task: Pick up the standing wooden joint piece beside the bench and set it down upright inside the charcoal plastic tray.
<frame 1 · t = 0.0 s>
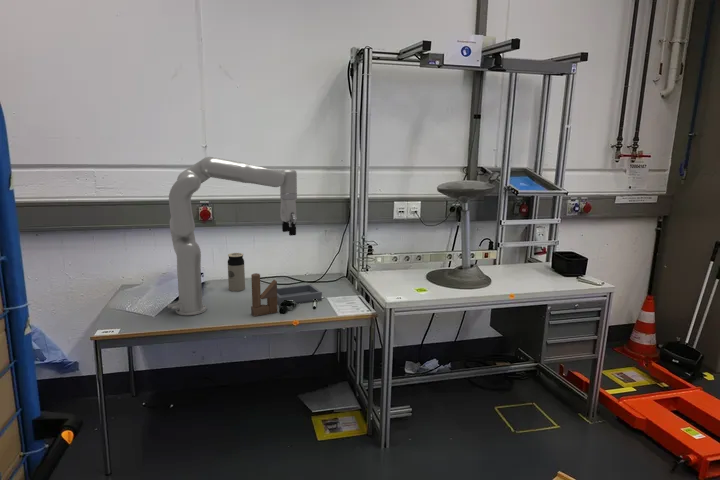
hand: (289, 233, 224), 31 cm above the table, tool pointing down, fingers open, 9 cm apart
tray: (296, 298, 228), on the table
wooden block: (264, 313, 209), on the table
travel mug: (236, 289, 241), on the table
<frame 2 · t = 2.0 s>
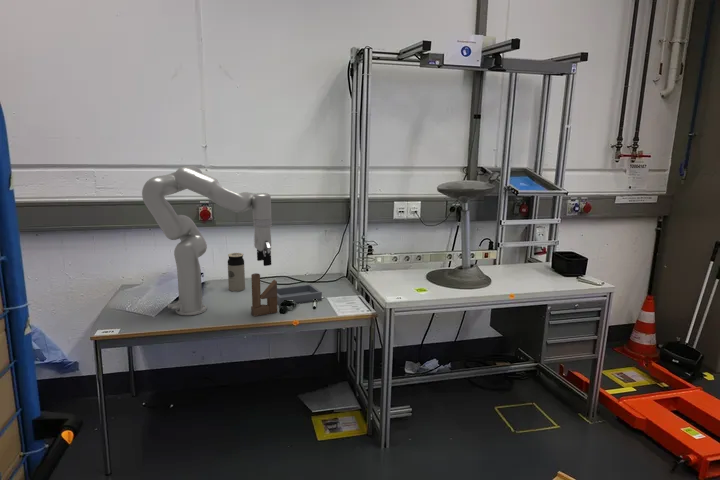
hand: (264, 262, 204), 23 cm above the table, tool pointing down, fingers open, 9 cm apart
nothing on the table moved.
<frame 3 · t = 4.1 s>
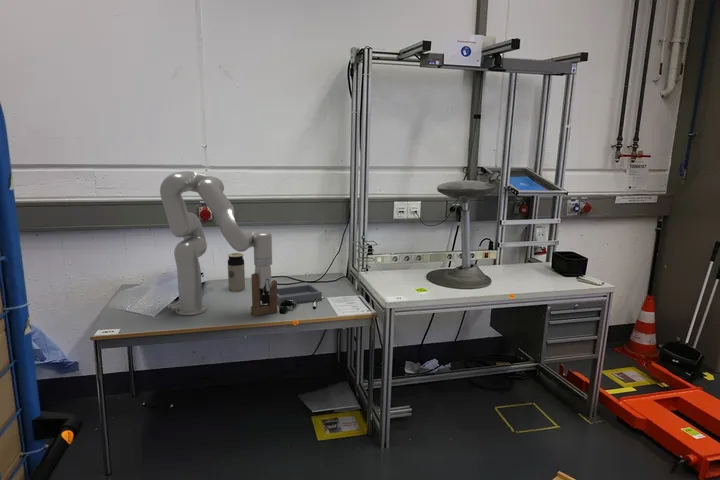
hand: (264, 301, 207), 5 cm above the table, tool pointing down, fingers closed on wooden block, 3 cm apart
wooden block: (264, 313, 209), on the table, touching gripper
everything else where it was.
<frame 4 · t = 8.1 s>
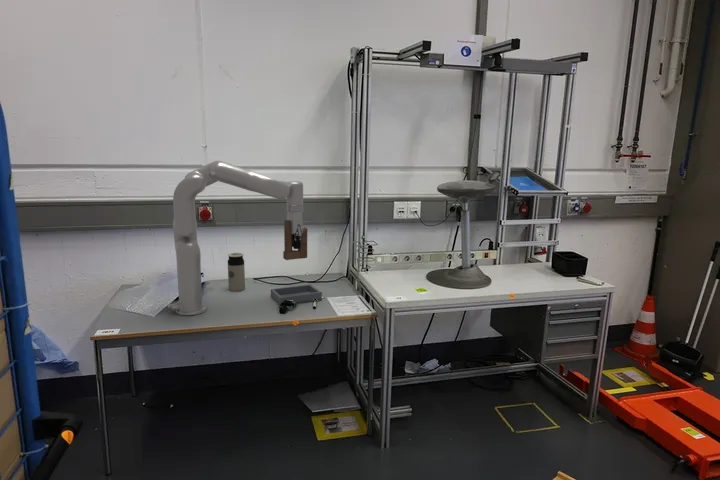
hand: (295, 247, 223), 25 cm above the table, tool pointing down, fingers closed on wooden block, 3 cm apart
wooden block: (295, 258, 224), point 20 cm above the table, touching gripper
everything else where it was.
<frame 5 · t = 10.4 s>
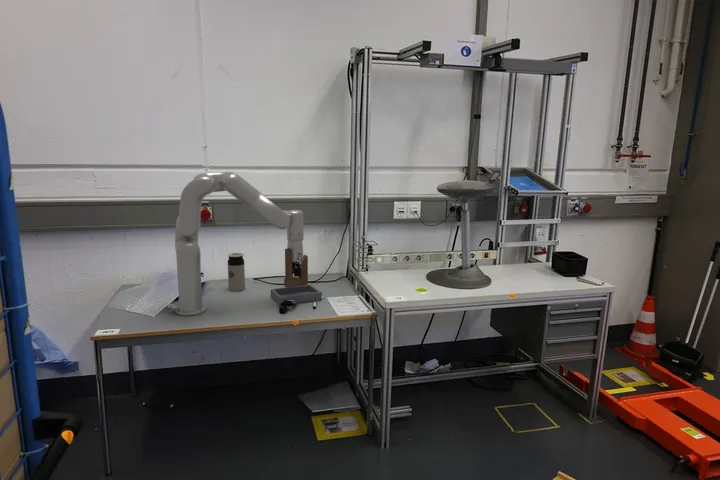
hand: (295, 274, 226), 12 cm above the table, tool pointing down, fingers closed on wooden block, 3 cm apart
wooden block: (296, 285, 227), point 6 cm above the table, touching gripper
everything else where it was.
when the fingers open (7 cm above the table, at t = 12.1 s): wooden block stays where it is, resting on tray.
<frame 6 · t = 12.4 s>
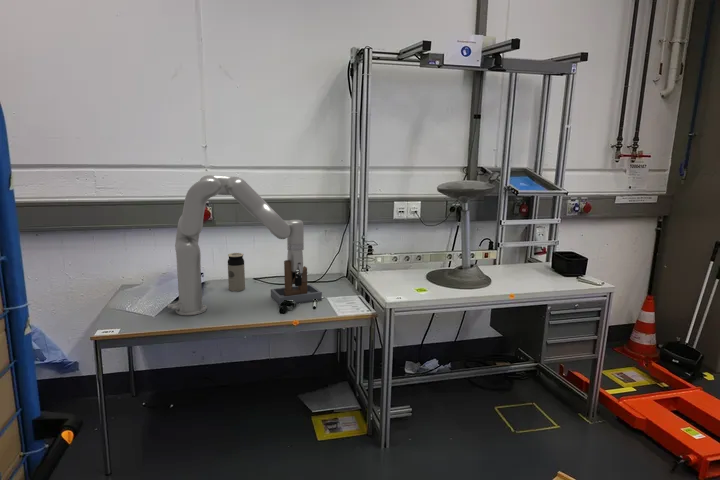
hand: (295, 283, 227), 8 cm above the table, tool pointing down, fingers open, 6 cm apart
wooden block: (295, 297, 228), point 1 cm above the table, touching tray
everything else where it was.
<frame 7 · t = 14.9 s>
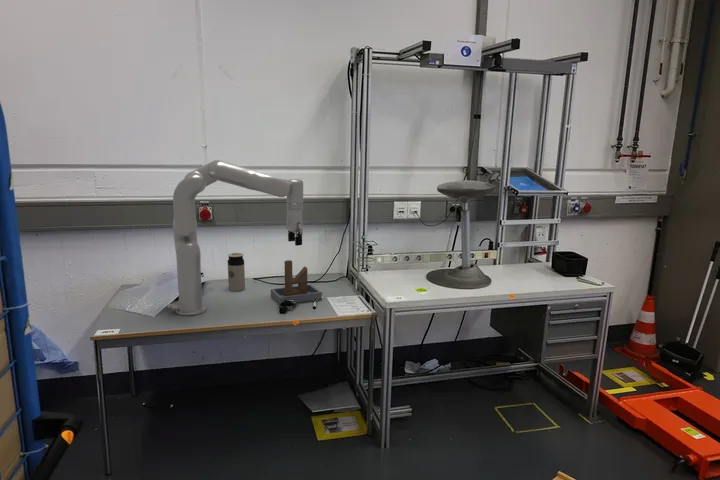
hand: (295, 243, 223), 27 cm above the table, tool pointing down, fingers open, 9 cm apart
nothing on the table moved.
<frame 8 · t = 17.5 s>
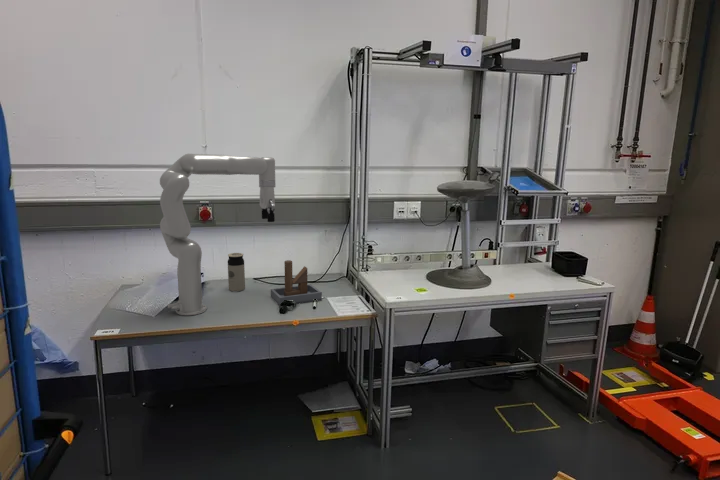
hand: (268, 220, 228), 36 cm above the table, tool pointing down, fingers open, 9 cm apart
nothing on the table moved.
at the end: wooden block inside the target area on the tray (0.1 cm from its centre), point 0.6 cm above the tray's base; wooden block tilted 0°; the gripper is holding nothing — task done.
